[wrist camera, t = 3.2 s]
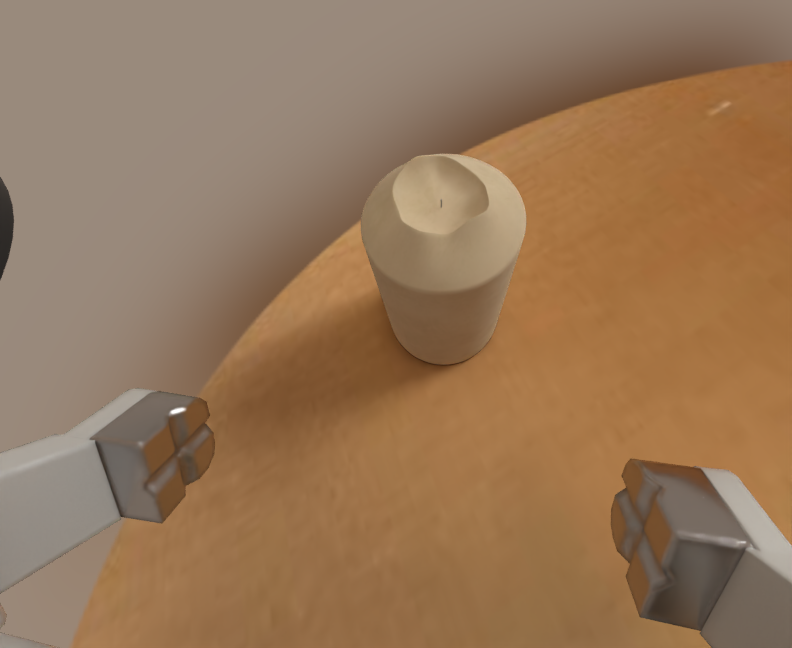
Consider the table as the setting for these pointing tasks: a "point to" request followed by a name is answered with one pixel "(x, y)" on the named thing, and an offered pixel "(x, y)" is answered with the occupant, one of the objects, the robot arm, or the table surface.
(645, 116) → the table surface
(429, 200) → the candle
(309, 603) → the table surface
